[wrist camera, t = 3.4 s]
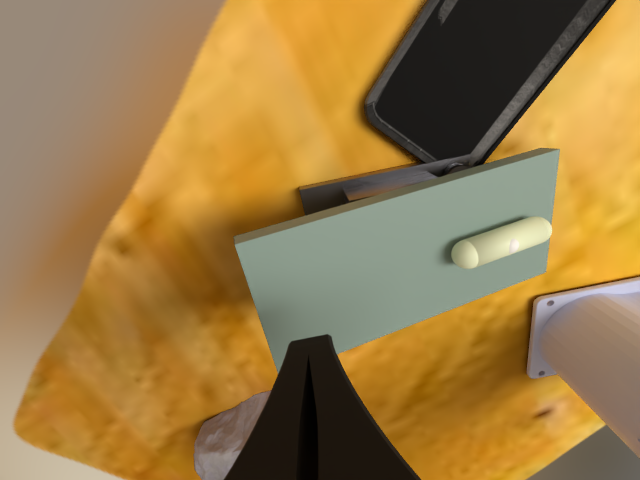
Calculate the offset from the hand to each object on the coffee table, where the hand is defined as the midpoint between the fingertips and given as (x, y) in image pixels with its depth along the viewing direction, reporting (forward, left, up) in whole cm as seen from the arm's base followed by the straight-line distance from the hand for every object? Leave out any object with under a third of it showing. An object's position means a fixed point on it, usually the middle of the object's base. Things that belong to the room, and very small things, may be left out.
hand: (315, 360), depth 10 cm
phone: (-12, -10, -11) cm, 19 cm away
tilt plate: (-5, 0, -6) cm, 8 cm away
